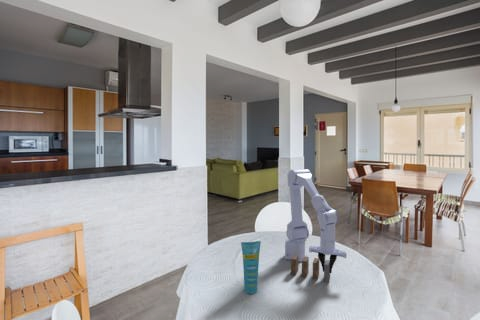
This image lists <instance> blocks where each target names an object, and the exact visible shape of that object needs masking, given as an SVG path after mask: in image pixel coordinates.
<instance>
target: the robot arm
mask: <svg viewBox="0 0 480 320" xmlns="http://www.w3.org/2000/svg"><path fill="white" fill-rule="evenodd" d="M287 186H288V187H289V199H290V214H291V215H290V216H291V220H290V221H289V222H288V224H286V225H287V226H286V231H285V232H286V237H287V238H286V240H285V244H284V259H285V260H289V261H291V258H292V256H293V255H294V254H295V255H298V263H299V262H300V263H302V259H303V257H304V256H307V257H308V254H306V241H307V239H309V236H310V231H309V228H308V223H306V222H305V221H304V220H303V210H302V207H303V205H302V194H301V188H303V187H304V189H305V191H307V193H308V195H309V196H310V198H311V201H310V203H311V205H312V207H313V209H315V212H316V213H317V216H316V217H317V222H318V224H319V225H318V227H319V228H320V237H319V239H320V242H319V243H320V245H319V246H312V245H310V246H309V247H308V252H309V253H316V254H317V258H318V259H319V263H320V264H321V268H322V272H323V273H324V264H325V260H326V256H329V260H330V274H332V270H333V267H334V264H335V262H336V260H337V258H338V257H339V258H344V259H347V254H348V253H347V251H346V250H345V251H344V250H340V249H337V248H336V224H338V222H339V213H338V212H337V210H336V209H333V208H332V207H331V206H330V205H329V204H328V202H327V200H326V199H325V197H324V195H322V194H320V193H319V192H318V189H317V188H316V186H315V183H314V182H313V174H312V173H311V171H310V169H308V168H305V169H304V168H303V169H290V170H289V171H288V173H287Z"/></svg>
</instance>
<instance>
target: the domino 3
mask: <svg viewBox="0 0 480 320" xmlns="http://www.w3.org/2000/svg"><path fill="white" fill-rule="evenodd" d="M319 276H320V260H319V258H318V257H314V259H313V261H312V280H315V281H318V279H319Z"/></svg>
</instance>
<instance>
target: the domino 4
mask: <svg viewBox="0 0 480 320" xmlns="http://www.w3.org/2000/svg"><path fill="white" fill-rule="evenodd" d="M330 279H331V273H330V259H325V264H324V272H323V282H325V283H330V282H331V280H330Z"/></svg>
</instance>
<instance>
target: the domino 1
mask: <svg viewBox="0 0 480 320" xmlns="http://www.w3.org/2000/svg"><path fill="white" fill-rule="evenodd" d="M298 272H299V261H298V255H295V254H294V255H293V256H292V258H291V260H290V275H292V276H297V274H298Z"/></svg>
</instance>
